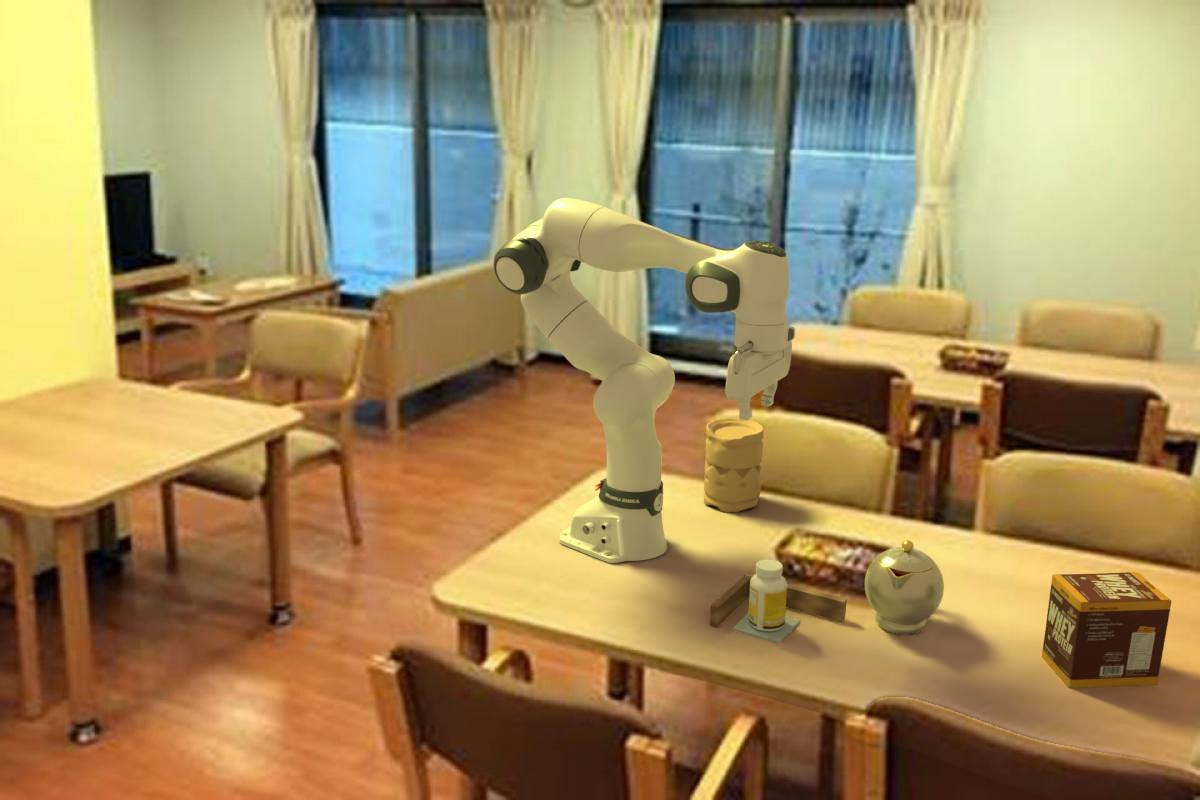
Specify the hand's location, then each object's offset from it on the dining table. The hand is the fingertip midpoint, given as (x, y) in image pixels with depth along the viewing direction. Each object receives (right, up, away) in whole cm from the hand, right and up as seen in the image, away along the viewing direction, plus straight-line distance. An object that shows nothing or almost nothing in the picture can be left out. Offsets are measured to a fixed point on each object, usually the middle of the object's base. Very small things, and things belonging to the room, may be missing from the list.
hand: (756, 412), depth 209 cm
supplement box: (+56, -43, -11) cm, 71 cm away
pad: (+2, -38, +2) cm, 38 cm away
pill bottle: (+2, -38, +2) cm, 38 cm away
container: (+2, -21, +58) cm, 61 cm away
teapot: (+27, -38, +5) cm, 47 cm away
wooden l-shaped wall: (+4, -38, +4) cm, 38 cm away
